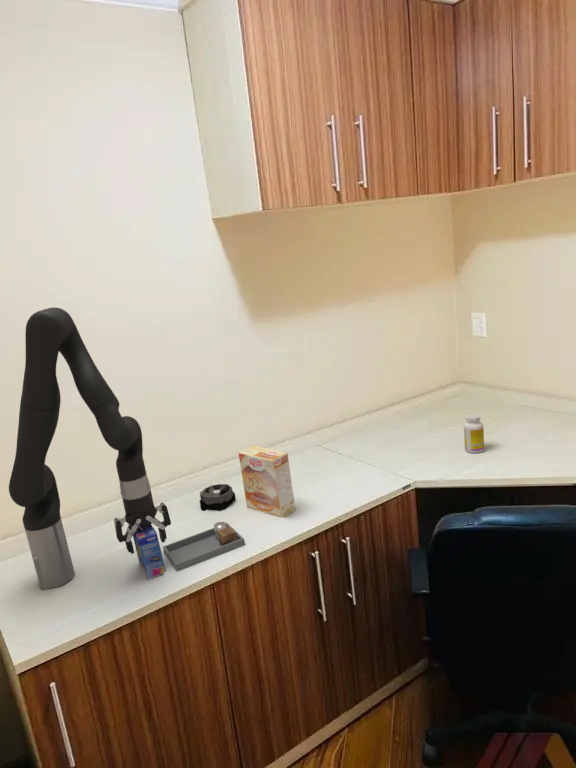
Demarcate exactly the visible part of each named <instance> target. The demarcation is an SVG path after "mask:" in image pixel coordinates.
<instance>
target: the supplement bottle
mask: <svg viewBox="0 0 576 768" xmlns="http://www.w3.org/2000/svg"><path fill="white" fill-rule="evenodd" d="M465 419H466V422H465V423H464V424H463V434H464V435H463V436H464V437H463V438H464V450H465V451H466V452H467V453H469V454H470V453H471V454H477V453H478V454H479V453H482V452H484V451H485V435H484V434H485V433H484V430H485V429H484V424H483V422H481V421H480V420H481V416H480V415H479V414H477V413H475V414H474V413H472V414H467V415H466V416H465Z"/></svg>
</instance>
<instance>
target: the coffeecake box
mask: <svg viewBox="0 0 576 768" xmlns="http://www.w3.org/2000/svg"><path fill="white" fill-rule="evenodd" d="M238 459H239V465H240V471H241V478H242V483H243V490H244V496H245V502H246V508H248V509H250V510H253V511H257V512H260V513H264V514H266V515H270V516H275V517H277V518H283V517H285V518H286V517H287V516H288V515H290V514H292V513H293V512H295V511H296V506H295V505H296V504H295V499H294V490H293V482H292V475H291V469H290V468H291V466H290V462H289V454H288V452H285V451H281V450H276V449H271V448H267V447H262V446H257V445H251V446H249V447H247V448H246V449H245V448H244V449H243V450H241V451H239V452H238Z"/></svg>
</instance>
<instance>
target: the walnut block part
mask: <svg viewBox="0 0 576 768" xmlns="http://www.w3.org/2000/svg"><path fill="white" fill-rule="evenodd" d="M231 527H232V526H231ZM231 527H227V528H225V529H222V530H219V531H217V532H218V538H219V543H220V545H221V546H223V545H226V544H228V543H231V542H234V541H236V540H237V535H236V532H237V531H236V530H235V529H234V528H233V527H232V528H233V529H234V530H233V529H232V528H231Z"/></svg>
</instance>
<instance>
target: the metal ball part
mask: <svg viewBox="0 0 576 768" xmlns="http://www.w3.org/2000/svg"><path fill="white" fill-rule="evenodd" d="M226 523H227V522H224V521H218V522H215V524H213V528H214V531H215V537H216V540H219V538H218V532H217V531H219V530H222V529H225V528H227V527H226Z"/></svg>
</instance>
